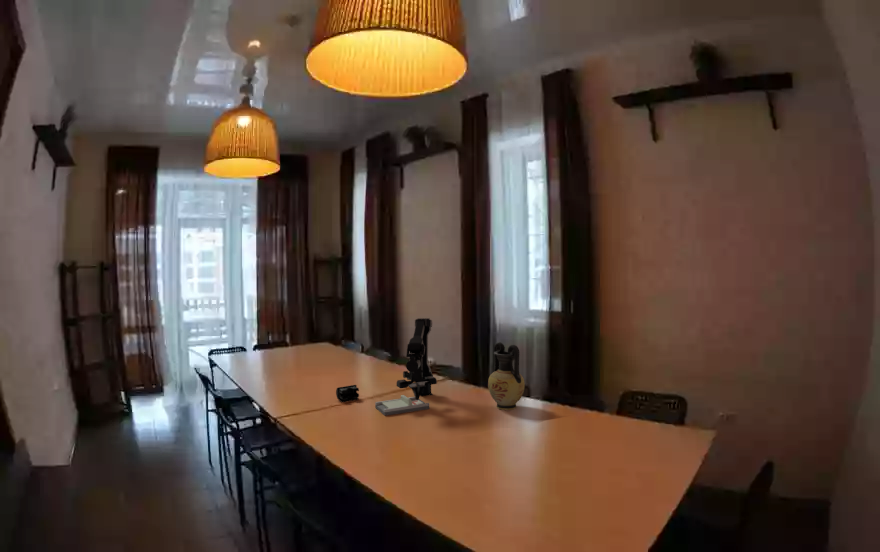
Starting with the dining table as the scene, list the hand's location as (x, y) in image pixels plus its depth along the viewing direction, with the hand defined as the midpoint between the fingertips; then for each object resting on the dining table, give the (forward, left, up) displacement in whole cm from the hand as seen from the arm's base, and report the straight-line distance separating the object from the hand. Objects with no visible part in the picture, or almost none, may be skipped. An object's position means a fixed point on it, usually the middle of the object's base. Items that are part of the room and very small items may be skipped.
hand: (417, 399), depth 244 cm
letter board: (+8, 0, -3) cm, 8 cm away
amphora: (-36, +22, -3) cm, 43 cm away
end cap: (+27, -28, -3) cm, 39 cm away
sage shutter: (+10, 0, -1) cm, 10 cm away
